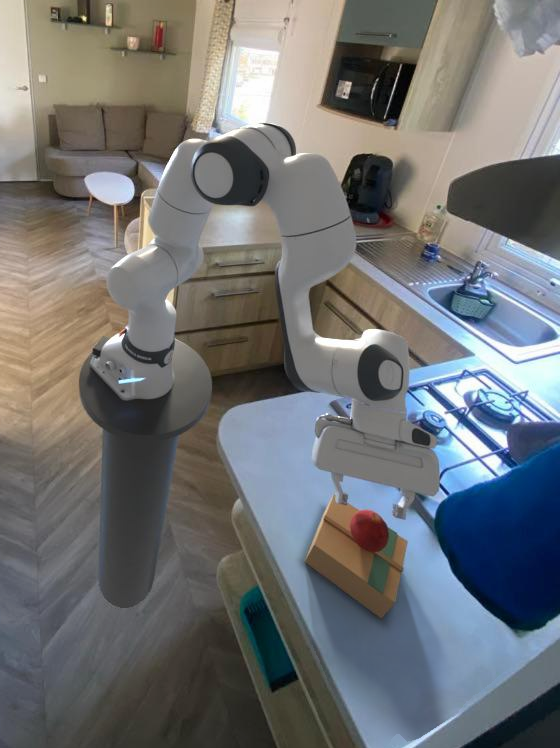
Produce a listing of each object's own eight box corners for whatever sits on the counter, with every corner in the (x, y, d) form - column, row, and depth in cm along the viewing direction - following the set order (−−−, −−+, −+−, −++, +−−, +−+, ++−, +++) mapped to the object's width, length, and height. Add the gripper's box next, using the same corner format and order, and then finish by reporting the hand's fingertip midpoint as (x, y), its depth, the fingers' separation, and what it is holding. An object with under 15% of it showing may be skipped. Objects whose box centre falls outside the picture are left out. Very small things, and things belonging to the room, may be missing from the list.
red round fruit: (375, 528, 73) (392, 502, 69) (383, 565, 68) (402, 540, 64) (341, 520, 74) (356, 494, 70) (347, 556, 69) (363, 530, 65)
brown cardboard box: (303, 562, 73) (313, 543, 70) (324, 510, 82) (333, 492, 78) (381, 620, 67) (396, 603, 64) (395, 558, 76) (409, 540, 72)
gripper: (322, 412, 72) (311, 501, 68) (447, 440, 70) (442, 533, 66) (312, 409, 78) (302, 490, 75) (427, 434, 76) (422, 519, 72)
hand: (369, 510), depth 70 cm, fingers open, 8 cm apart
